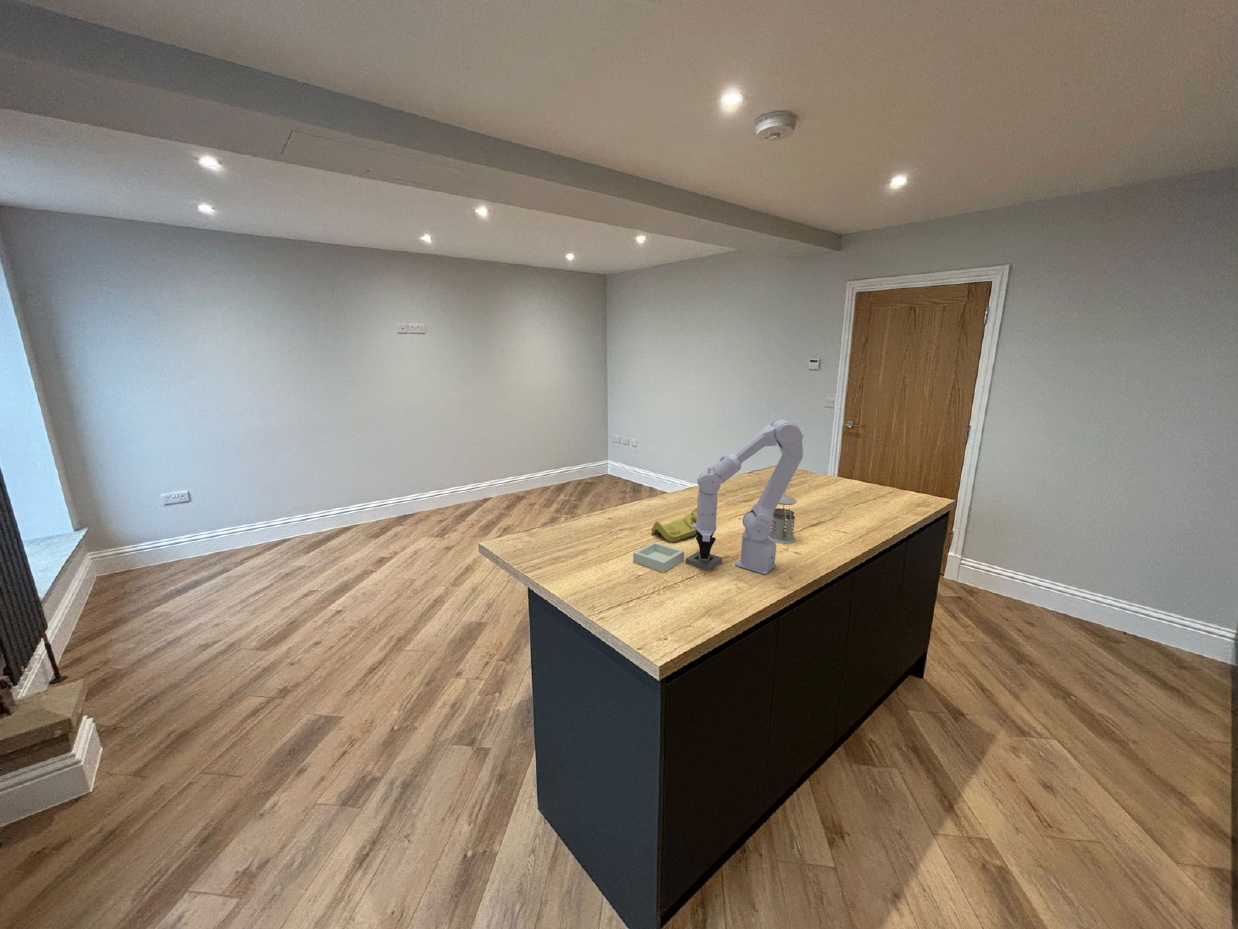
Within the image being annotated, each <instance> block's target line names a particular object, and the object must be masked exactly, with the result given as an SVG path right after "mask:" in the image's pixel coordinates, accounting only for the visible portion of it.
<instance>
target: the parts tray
mask: <svg viewBox="0 0 1238 929" xmlns="http://www.w3.org/2000/svg"><path fill="white" fill-rule="evenodd" d="M684 561H685V551H684V550H682V549H679V548H676V547H672V546H669V545H666V544H662V543H659V542H656V541H653V542H651V543H650V544H648V545H646V546H644V547H641V548H640V549H638V550H635V551H634V552H633V553H632V563H635V564H638V565H641V566H643V567H645V568H649V569H653V570H655V571H658V572H660V573H666V572H667V571H669V570H670V569H672V568H674V567H675V566H677V565H679V564H681V563H682V562H684Z"/></svg>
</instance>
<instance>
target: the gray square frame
mask: <svg viewBox="0 0 1238 929" xmlns="http://www.w3.org/2000/svg"><path fill="white" fill-rule="evenodd" d="M698 559H699V550H698V551H696V552H693V554H691V555H689V556H688V557H686V558H685V564H686V565H689V566H692V567H696V568H699V569H702V570H705V571H708V572H710V571H712V570H713V569H714V568H716V567H718V565H720V564H721V563H723V557H721V556H718V555H715V554H713V553H710V559H709V560H710V561H709V562H708V563H706V562H703V561H700V560H698Z"/></svg>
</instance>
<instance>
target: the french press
mask: <svg viewBox="0 0 1238 929" xmlns="http://www.w3.org/2000/svg"><path fill="white" fill-rule="evenodd" d="M786 490H787V489H786ZM786 490H785V492H784V494H783V495H782V497H781V499H780V501H779V503H778V505H783V507H782V508H781V507H780V508H777V507H776V508H775V510H774V513H773V522H772V524H771V526H770V535H769V536H768V539H769V540H771V541H773V542H775V543H776V544H781V545H791V544H794V543H796V538H795V537H794V530H795V529H794V528H795V521H796V517H795V512H794V511H793V510H791V508H790V507H789V508H788V509H787V508H785V506H792V505H796V504H797V503H798V501H797V500H796V498H794V497H791V496H789V495H786V492H787V491H786Z"/></svg>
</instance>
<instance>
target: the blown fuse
mask: <svg viewBox="0 0 1238 929" xmlns="http://www.w3.org/2000/svg"><path fill="white" fill-rule="evenodd" d="M698 551H699V559H698V560H700V561H703V562H706V563H708V562H709V561H710V560H709V559H710V554H711V553H710V554H709V558H708V559H701V557H700V549H699V548H698Z"/></svg>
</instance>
